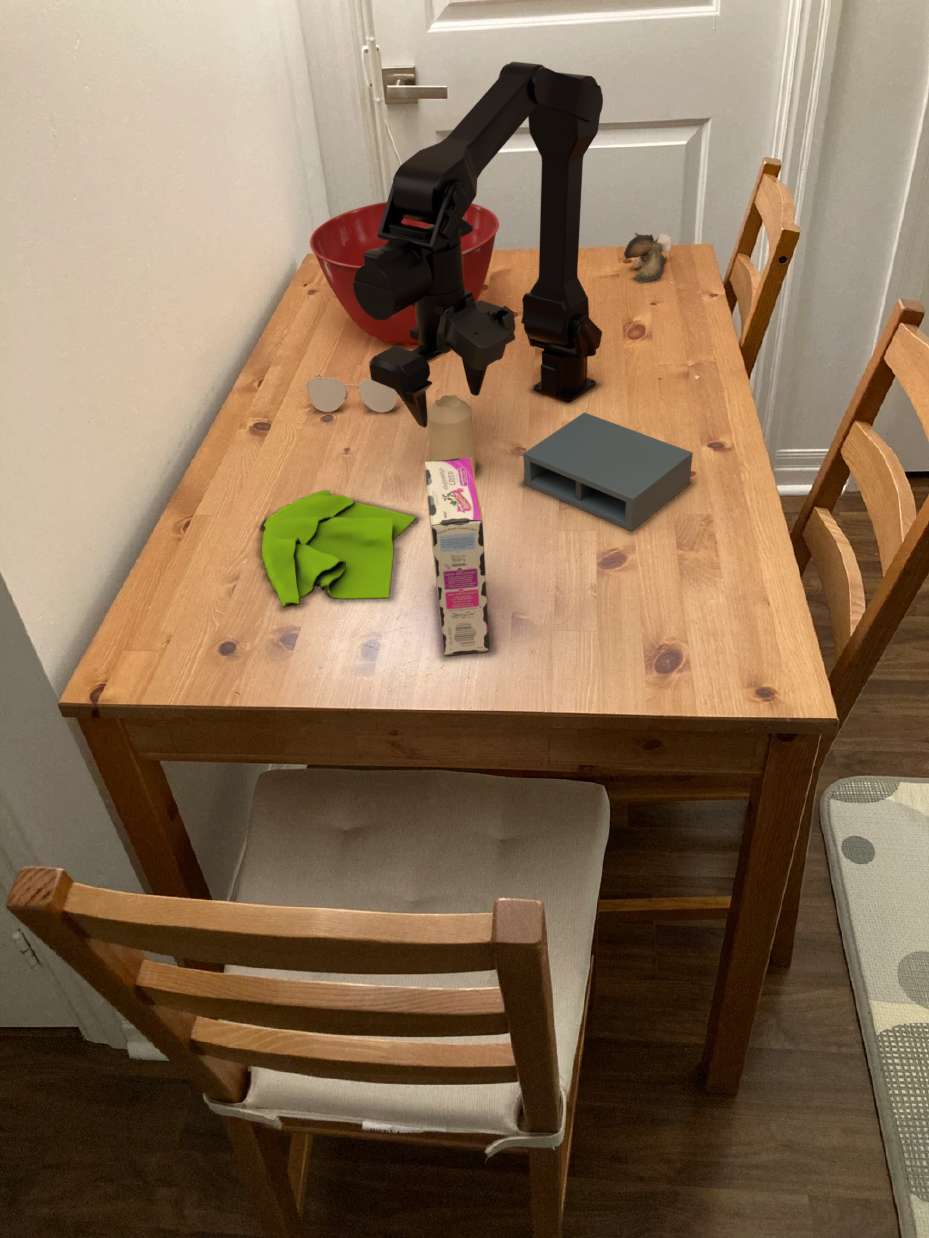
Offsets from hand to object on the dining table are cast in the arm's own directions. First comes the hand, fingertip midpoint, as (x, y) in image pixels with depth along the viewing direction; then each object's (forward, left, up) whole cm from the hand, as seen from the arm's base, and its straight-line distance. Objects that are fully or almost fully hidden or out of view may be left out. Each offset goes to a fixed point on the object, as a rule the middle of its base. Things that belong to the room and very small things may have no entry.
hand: (449, 410), depth 118 cm
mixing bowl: (-27, -34, -9) cm, 44 cm away
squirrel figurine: (-65, -16, -9) cm, 67 cm away
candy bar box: (+20, +20, -9) cm, 30 cm away
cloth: (+21, 0, -9) cm, 23 cm away
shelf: (-9, +17, -9) cm, 21 cm away
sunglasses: (-6, -24, -9) cm, 26 cm away
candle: (0, 0, -9) cm, 9 cm away
